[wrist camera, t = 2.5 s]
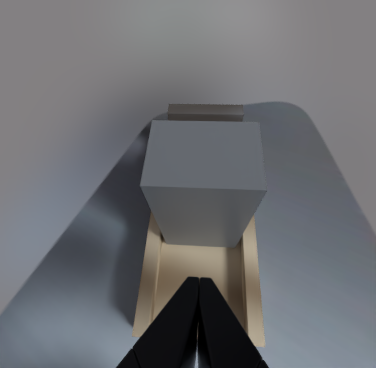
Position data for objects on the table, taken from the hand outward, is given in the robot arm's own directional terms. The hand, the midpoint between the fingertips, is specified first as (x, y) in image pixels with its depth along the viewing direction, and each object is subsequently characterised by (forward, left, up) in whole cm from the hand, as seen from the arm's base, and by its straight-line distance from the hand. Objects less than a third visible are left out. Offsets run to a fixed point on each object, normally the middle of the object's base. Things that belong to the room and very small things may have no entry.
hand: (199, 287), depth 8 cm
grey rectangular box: (+6, 0, -10) cm, 12 cm away
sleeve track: (+7, 0, -12) cm, 14 cm away
